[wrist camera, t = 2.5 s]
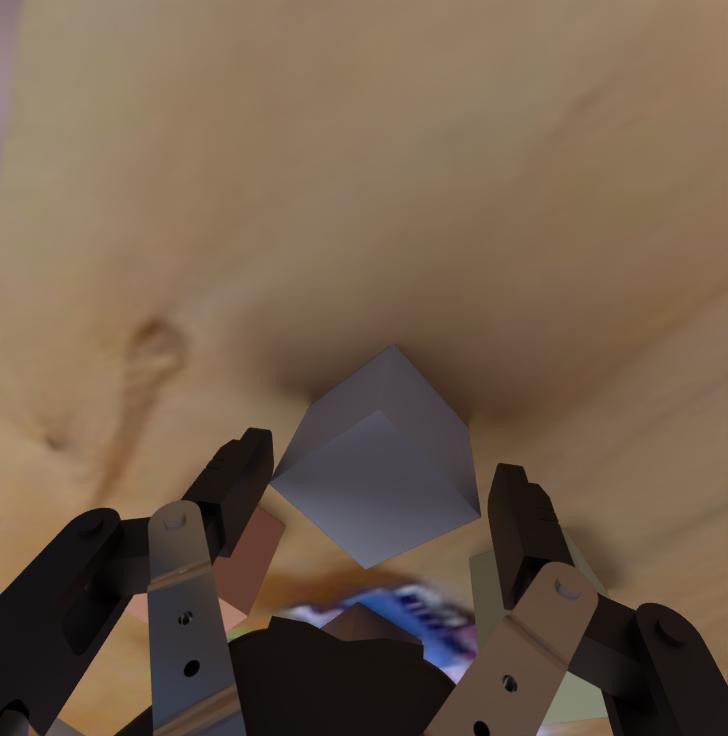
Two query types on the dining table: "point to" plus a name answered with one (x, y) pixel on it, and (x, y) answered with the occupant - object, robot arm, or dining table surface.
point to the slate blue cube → (381, 463)
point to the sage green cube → (573, 692)
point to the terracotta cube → (236, 570)
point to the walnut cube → (365, 626)
